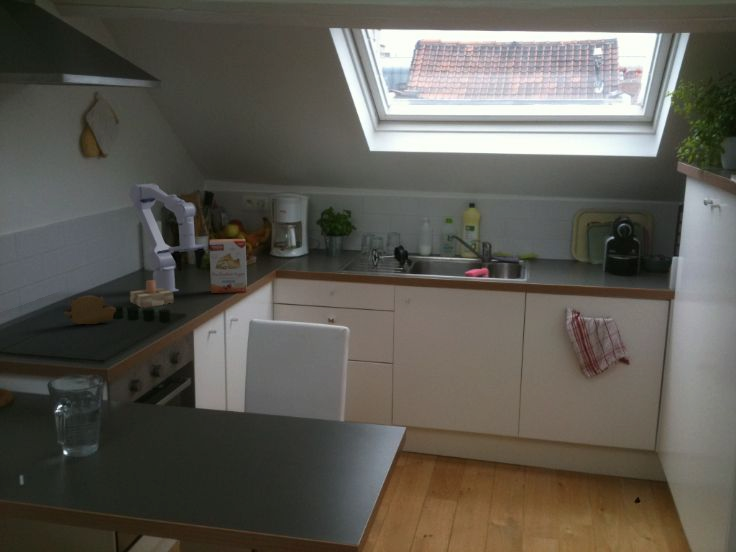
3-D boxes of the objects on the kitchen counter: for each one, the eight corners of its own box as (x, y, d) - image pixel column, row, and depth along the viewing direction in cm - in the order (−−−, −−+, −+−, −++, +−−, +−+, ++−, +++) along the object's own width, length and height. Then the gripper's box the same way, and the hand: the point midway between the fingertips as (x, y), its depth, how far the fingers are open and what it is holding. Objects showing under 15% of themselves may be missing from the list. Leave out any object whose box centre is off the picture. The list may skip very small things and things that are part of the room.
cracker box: (211, 294, 293) (208, 241, 289) (211, 290, 298) (209, 239, 294) (247, 292, 295) (245, 240, 291) (247, 289, 301) (245, 238, 297)
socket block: (130, 301, 280) (129, 291, 279) (161, 297, 287) (160, 287, 286) (142, 307, 270) (141, 297, 269) (173, 303, 277) (173, 292, 277)
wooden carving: (116, 320, 253) (114, 291, 251) (117, 323, 249) (115, 293, 247) (64, 325, 247) (61, 295, 245) (64, 328, 242) (62, 298, 241)
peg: (145, 301, 279) (144, 280, 277) (154, 300, 281) (153, 279, 279) (149, 303, 276) (147, 282, 274) (158, 302, 278) (156, 281, 276)
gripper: (173, 237, 277) (175, 273, 280) (208, 233, 286) (210, 268, 288) (165, 235, 283) (168, 270, 285) (201, 232, 291) (203, 266, 294)
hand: (189, 269), depth 287 cm, fingers open, 7 cm apart
